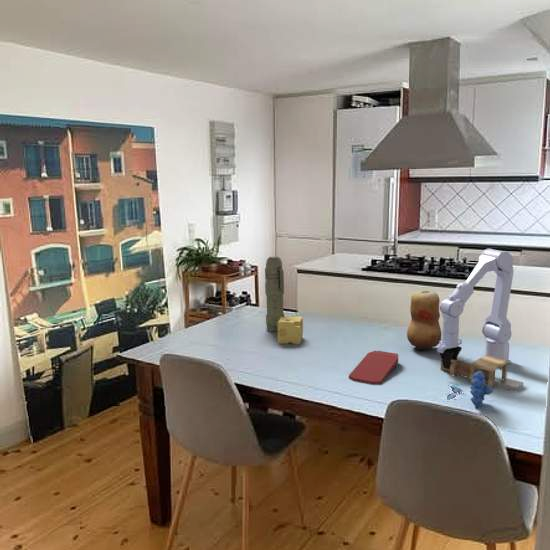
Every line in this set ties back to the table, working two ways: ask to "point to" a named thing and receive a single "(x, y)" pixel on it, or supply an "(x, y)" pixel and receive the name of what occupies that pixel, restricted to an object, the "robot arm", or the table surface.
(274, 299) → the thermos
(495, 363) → the small wooden table
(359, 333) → the table surface
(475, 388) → the grapes
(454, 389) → the decorative blades
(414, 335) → the butternut squash
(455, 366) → the brown wooden stepped bar
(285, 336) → the cheese
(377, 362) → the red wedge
